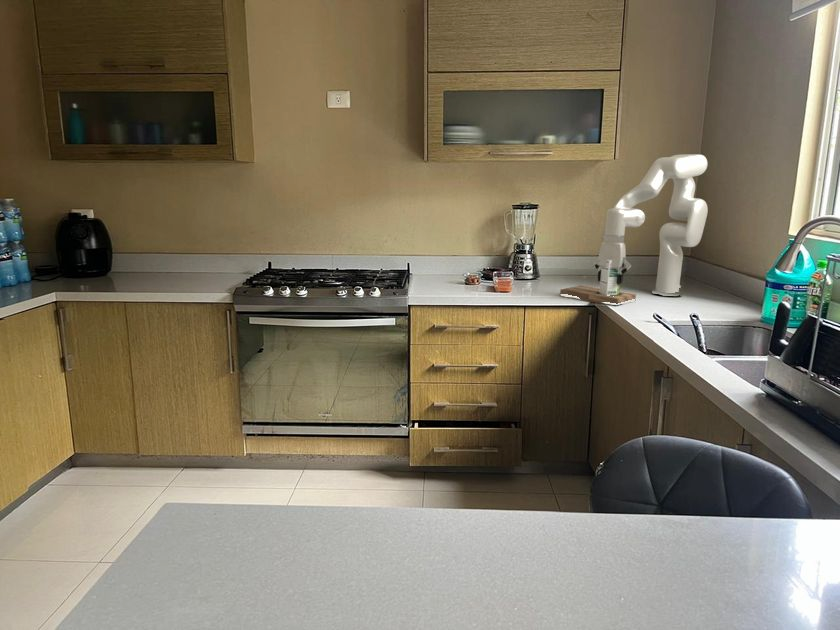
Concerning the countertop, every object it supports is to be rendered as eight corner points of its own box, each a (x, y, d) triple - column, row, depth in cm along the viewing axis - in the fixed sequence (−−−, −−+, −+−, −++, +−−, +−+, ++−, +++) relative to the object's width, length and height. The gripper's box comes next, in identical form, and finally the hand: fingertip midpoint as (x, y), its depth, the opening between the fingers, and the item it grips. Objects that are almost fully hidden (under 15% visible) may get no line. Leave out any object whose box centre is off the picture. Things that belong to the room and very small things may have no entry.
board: (579, 292, 273) (580, 285, 272) (635, 301, 255) (636, 294, 254) (560, 296, 261) (560, 289, 261) (616, 306, 244) (617, 299, 243)
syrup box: (606, 295, 250) (610, 260, 247) (598, 292, 256) (601, 258, 253) (618, 295, 252) (622, 260, 249) (610, 292, 258) (614, 258, 254)
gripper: (590, 238, 252) (586, 280, 256) (630, 242, 241) (625, 286, 244) (599, 237, 258) (595, 278, 262) (638, 241, 246) (634, 284, 250)
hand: (609, 282), depth 253 cm, fingers closed on syrup box, 7 cm apart
